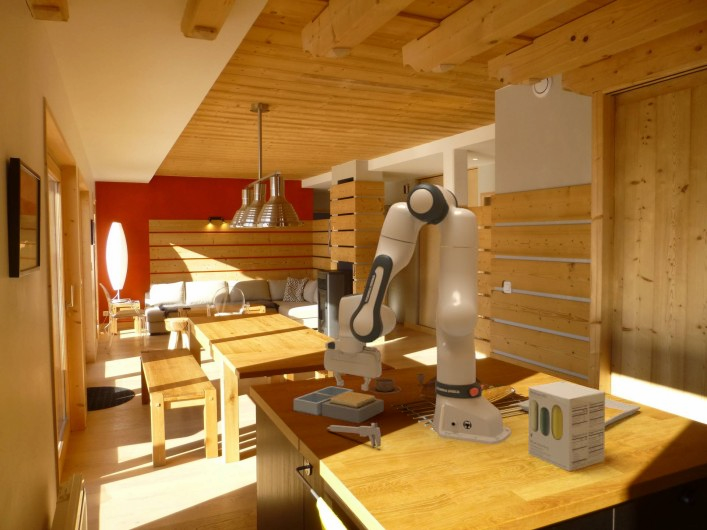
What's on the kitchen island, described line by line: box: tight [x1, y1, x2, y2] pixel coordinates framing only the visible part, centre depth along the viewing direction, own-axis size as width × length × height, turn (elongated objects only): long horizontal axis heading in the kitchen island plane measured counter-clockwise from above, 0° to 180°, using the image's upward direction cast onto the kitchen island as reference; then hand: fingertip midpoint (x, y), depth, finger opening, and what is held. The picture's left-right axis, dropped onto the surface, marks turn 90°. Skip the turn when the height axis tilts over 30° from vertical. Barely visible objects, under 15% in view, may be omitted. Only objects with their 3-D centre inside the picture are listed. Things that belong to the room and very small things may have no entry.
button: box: [331, 391, 376, 409], centre depth 179 cm, size 10×10×4 cm
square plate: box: [517, 397, 641, 427], centre depth 177 cm, size 27×27×4 cm
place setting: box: [367, 373, 425, 395], centre depth 205 cm, size 18×20×6 cm
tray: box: [293, 385, 354, 417], centre depth 188 cm, size 20×10×4 cm, turn 145°
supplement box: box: [527, 380, 606, 472], centre depth 142 cm, size 13×13×18 cm
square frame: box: [321, 398, 385, 424], centre depth 179 cm, size 14×14×4 cm
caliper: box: [326, 422, 382, 448], centre depth 156 cm, size 20×1×6 cm, turn 44°
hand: (352, 388), depth 179 cm, fingers open, 8 cm apart
